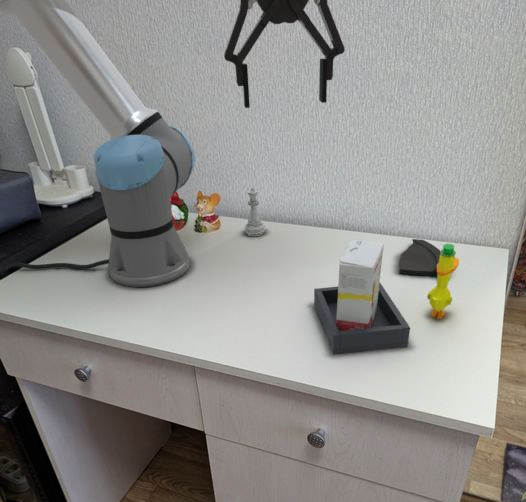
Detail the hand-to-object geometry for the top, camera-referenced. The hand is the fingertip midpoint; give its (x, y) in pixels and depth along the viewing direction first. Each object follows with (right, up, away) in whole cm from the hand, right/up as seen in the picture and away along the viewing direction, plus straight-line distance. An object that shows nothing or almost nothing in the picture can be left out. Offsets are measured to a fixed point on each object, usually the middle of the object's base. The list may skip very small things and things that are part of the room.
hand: (285, 104), depth 88 cm
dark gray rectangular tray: (+11, -40, -11) cm, 43 cm away
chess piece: (-6, -18, +22) cm, 29 cm away
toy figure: (+24, -38, -9) cm, 46 cm away
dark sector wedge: (+27, -27, +6) cm, 39 cm away
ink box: (+11, -40, -12) cm, 43 cm away
